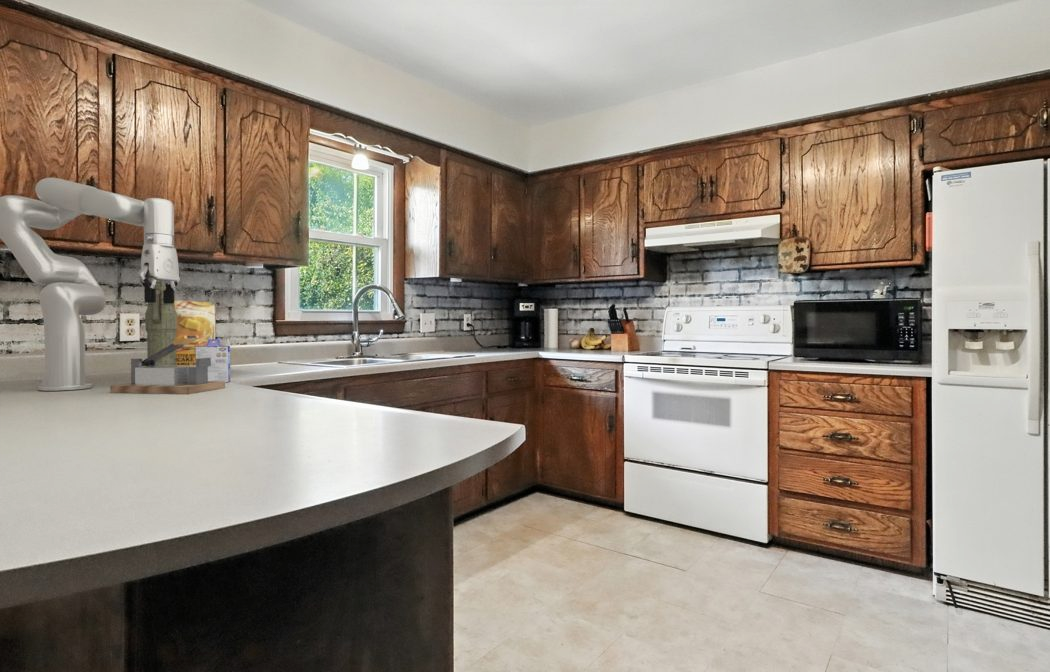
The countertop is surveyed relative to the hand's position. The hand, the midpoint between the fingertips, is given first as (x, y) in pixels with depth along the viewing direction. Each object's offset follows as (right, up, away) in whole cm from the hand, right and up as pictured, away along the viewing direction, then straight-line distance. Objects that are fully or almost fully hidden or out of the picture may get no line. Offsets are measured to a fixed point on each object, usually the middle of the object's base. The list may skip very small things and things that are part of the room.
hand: (159, 302), depth 172 cm
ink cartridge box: (+3, -25, +24) cm, 35 cm away
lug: (+12, -24, -1) cm, 27 cm away
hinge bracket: (-5, -24, +1) cm, 24 cm away
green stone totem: (-12, -26, +20) cm, 34 cm away
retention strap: (+2, -15, 0) cm, 15 cm away
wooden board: (+3, -26, 0) cm, 26 cm away
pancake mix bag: (-12, -25, +34) cm, 44 cm away
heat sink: (+3, -24, 0) cm, 24 cm away
